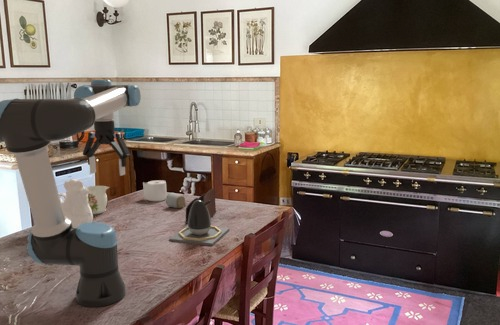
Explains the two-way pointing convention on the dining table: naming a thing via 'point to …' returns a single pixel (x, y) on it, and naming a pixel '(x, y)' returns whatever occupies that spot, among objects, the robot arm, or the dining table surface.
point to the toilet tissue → (155, 190)
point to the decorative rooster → (76, 203)
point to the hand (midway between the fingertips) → (107, 174)
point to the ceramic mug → (175, 200)
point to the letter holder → (205, 197)
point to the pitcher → (97, 198)
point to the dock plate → (200, 236)
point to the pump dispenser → (199, 218)
